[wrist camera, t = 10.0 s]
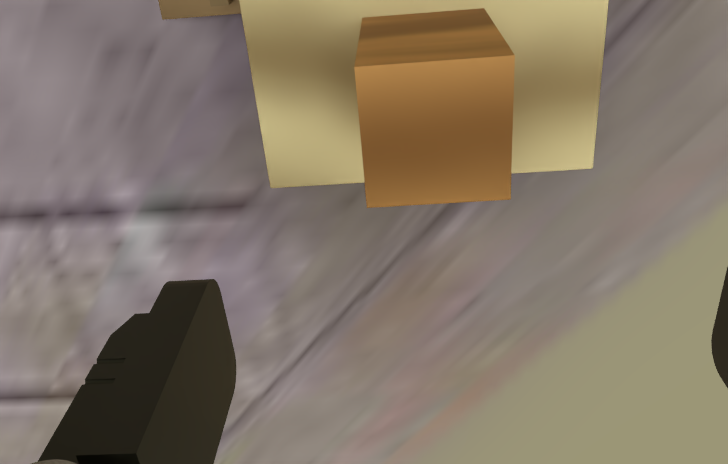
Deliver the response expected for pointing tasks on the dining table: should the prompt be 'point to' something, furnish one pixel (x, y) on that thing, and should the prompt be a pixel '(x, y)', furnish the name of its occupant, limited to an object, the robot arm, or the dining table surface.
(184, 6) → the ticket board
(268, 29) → the wooden block on base
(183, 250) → the dining table surface
